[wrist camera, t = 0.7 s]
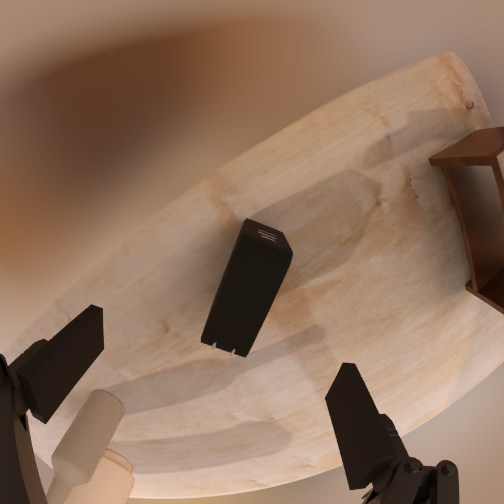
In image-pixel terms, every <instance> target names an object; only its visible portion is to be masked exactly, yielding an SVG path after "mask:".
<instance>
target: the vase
mask: <svg viewBox="0 0 504 504" xmlns="http://www.w3.org/2000/svg"><path fill="white" fill-rule="evenodd" d="M134 482H135V479H134V477H133V476H132V466H131V465H130V463H129V462H128V461H127V460H126V459H124V458H123V457H121V456H120V455H118V454H116V453H114V452H112V451H110V450H107V449H106V450H105V452H104V454H103V456H102V458H101V460H100V462H99V464H98V466H97V468H96V470H95V472H94V474H93V476H92V478H91V480H90V481H89V482H88V483H86V484H83V485H79V486H75V487H73V488H72V490H71V492H70V493H69V495H68V497H67V498H66V500H65V502H64V503H63V504H126V502H127V500H128V498H129V495H130V493H131V491H132V488H133V486H134Z"/></svg>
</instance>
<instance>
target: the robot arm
mask: <svg viewBox="0 0 504 504" xmlns="http://www.w3.org/2000/svg"><path fill="white" fill-rule="evenodd" d="M103 350H104V335H103V308H100V307H98V306H95V305H92V304H91V305H90V306H89V307H88V308H86V309H85V310H84V311H83V312H82V313H80V314H79V315H78V316H77V317H76V318H75V319H73V320H72V321H71V322H70V323H69V324H68V325H66V326H65V327H64V328H63V329H62V330H61V331H60V332H58V333H57V334H56V335H55V336H54V337H53V338H52V339H50V340H49V341H47V340H45V339H42V340H39V341H37V342H35V343H33V344H32V345H31V346H30V347H29V349H27V350H25V351H24V353H22V354H21V355H20V356H19V357H18V358H16V359H15V360H14V361H13V362H12V363H11V364H10V365H9V366H8V365H7V362H6V359H5V357H4V356H3V355H2V354H0V504H48V502H47V499H46V496H45V493H44V490H43V487H42V484H41V480H40V477H39V473H38V469H37V465H36V461H35V457H34V452H33V448H32V443H31V437H30V431H29V425H28V418H27V415H26V412H27V411H28V409H29V408H30V411H31V413H32V415H33V417H35V418H36V419H38V420H39V421H41V422H43V423H44V424H46V423H47V422H48V421H49V419H50V418H51V417H52V415H53V414H54V412H55V411H56V410H57V408H58V407H59V406H60V404H61V403H62V402H63V400H64V399H65V398H66V396H67V395H68V394H69V393H70V391H71V390H72V389H73V387H74V386H75V385H76V383H77V382H78V381H79V380H80V378H81V377H82V376H83V375H84V373H85V372H86V371H87V370H88V368H89V367H90V366H91V365H92V363H93V362H94V361H95V360H96V358H97V357H98V356H99V355H100V353H101V352H102V351H103ZM325 400H326V404H327V407H328V411H329V414H330V418H331V421H332V425H333V428H334V432H335V436H336V439H337V443H338V447H339V450H340V454H341V458H342V462H343V465H344V469H345V473H346V477H347V481H348V484H349V489H350V490H355V489H363V488H366V486H368V485H369V484H370V483H371V482H372V485H373V488H372V489H371V490H370V491H369V492H367V494H365V495H364V496H363V497H362V499H364V498H365V497H366V496H367V497H366V498H365V500H364V502H363V503H362V504H459V480H458V469H457V467H456V465H455V464H454V463H453V462H451V461H448V460H443V461H441V462H439V463H438V464H437V465H436V466H435V467H434V466H423V464H422V463H421V462H420V461H419V460H418V459H416V458H413V457H409V455H408V453H407V451H406V449H405V447H404V444H403V443H402V440H401V438H400V436H398V432H397V430H395V429H396V428H395V426H394V424H393V422H392V420H391V419H390V418H389V417H388V416H387V415H386V414H379V412H378V410H377V408H376V406H375V404H374V401H373V399H372V397H371V395H370V393H369V391H368V389H367V387H366V385H365V383H364V381H363V379H362V377H361V375H360V373H359V371H358V369H357V367H356V365H355V364H354V363H344V362H343V363H342V365H341V367H340V370H339V372H338V374H337V376H336V378H335V380H334V382H333V384H332V386H331V387H330V389H329V391H328V393H327V395H326V397H325Z"/></svg>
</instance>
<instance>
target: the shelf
mask: <svg viewBox="0 0 504 504" xmlns="http://www.w3.org/2000/svg"><path fill="white" fill-rule="evenodd" d="M429 161H430V164H431V166H441V168H442V171H443V173H444V176H445V179H446V181H447V184H448V187H449V190H450V193H451V196H452V199H453V202H454V205H455V209H456V212H457V216H458V219H459V223H460V226H461V230H462V234H463V238H464V243H465V247H466V251H467V256H468V261H469V266H470V272H471V278H472V280H471V281H469V282H468V283H467V284H466V285H465V286H466V290H467V291H469V292H470V293H472V294H473V295H475V296H476V297H478V298H480V299H481V300H483V301H484V302H486V303H487V304H489V305H490V306H492V307H493V308H495V309H496V310H498V311H499V312H501V313H502V314H504V127H497V128H489V129H481V130H478V131H476V132H474V133H473V134H471V135H469V136H467V137H466V138H464V139H462V140H461V141H459V142H457V143H455V144H454V145H452V146H450V147H448V148H447V149H445V150H443V151H441V152H440V153H438V154H436V155H435V156H433V157H431V158H429Z"/></svg>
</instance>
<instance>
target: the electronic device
mask: <svg viewBox="0 0 504 504" xmlns="http://www.w3.org/2000/svg"><path fill="white" fill-rule="evenodd" d="M292 256H293V251H292V249H291V248H290V246H289V244H288V242H287V240H286V238H285V236H284V234H283V232H280V231H278V230H275V229H273V228H270V227H268V226H265V225H263V224H260V223H258V222H255V221H253V220H250V219H248V218H246V220H245V221H244V223H243V226H242V228H241V231H240V233H239V236H238V238H237V241H236V244H235V246H234V249H233V251H232V254H231V256H230V259H229V262H228V264H227V267H226V269H225V272H224V275H223V277H222V280H221V282H220V285H219V288H218V290H217V293H216V296H215V298H214V301H213V304H212V307H211V310H210V313H209V316H208V319H207V321H206V324H205V327H204V330H203V333H202V336H201V342H202V343H204V344H207V345H210V346H212V345H213V346H212V349H213V350H214V348H215V346H216V348H218V349H221V350H224V351H227V352H231V354H230V356H233V354H236V355H239V356H242V357H246V356H247V355H248V353H249V351H250V349H251V347H252V345H253V343H254V341H255V339H256V337H257V335H258V333H259V331H260V329H261V327H262V325H263V322H264V320H265V318H266V316H267V314H268V312H269V310H270V308H271V305H272V303H273V301H274V299H275V297H276V295H277V293H278V290H279V288H280V286H281V284H282V282H283V279H284V277H285V275H286V273H287V271H288V268H289V266H290V263H291V260H292Z"/></svg>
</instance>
